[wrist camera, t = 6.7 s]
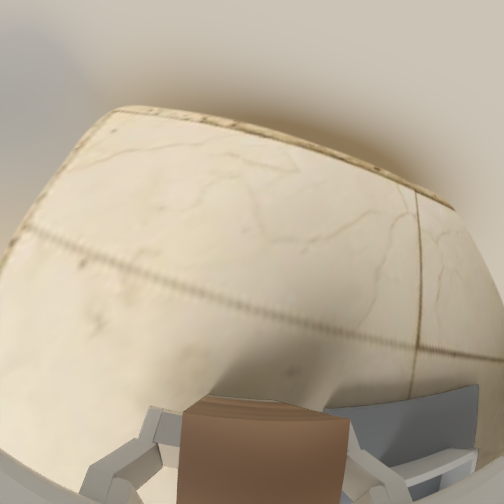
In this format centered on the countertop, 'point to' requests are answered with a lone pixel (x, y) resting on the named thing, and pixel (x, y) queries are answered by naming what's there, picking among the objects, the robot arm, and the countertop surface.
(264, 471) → the block
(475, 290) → the countertop surface
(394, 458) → the grey socket base
